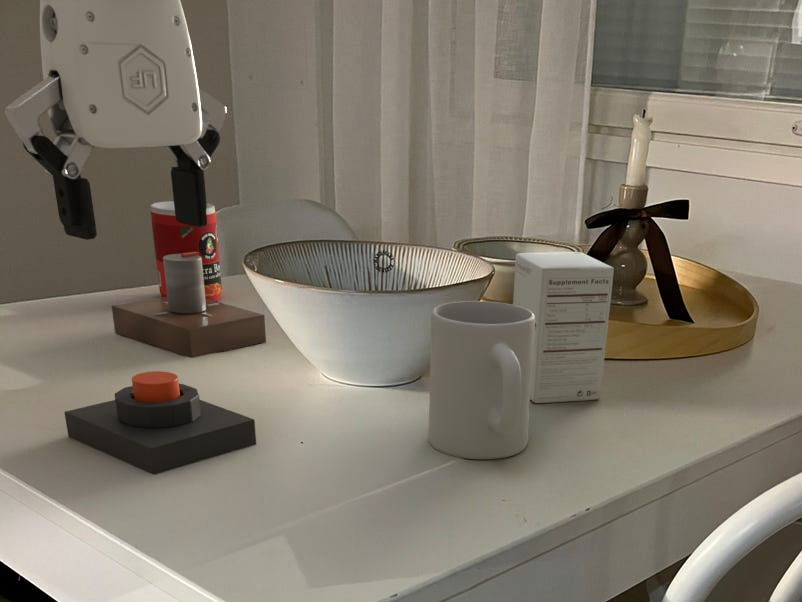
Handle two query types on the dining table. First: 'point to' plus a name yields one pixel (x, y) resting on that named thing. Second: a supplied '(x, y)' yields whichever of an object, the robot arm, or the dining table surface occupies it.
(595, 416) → the dining table surface
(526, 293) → the white packaging box
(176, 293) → the dial
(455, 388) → the mug
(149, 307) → the dial panel
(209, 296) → the canned food
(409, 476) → the dining table surface
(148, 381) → the button
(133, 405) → the button base
